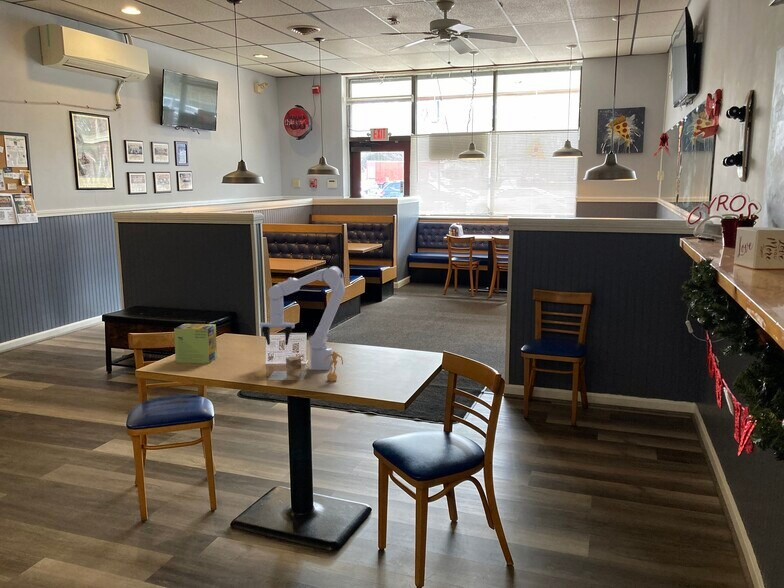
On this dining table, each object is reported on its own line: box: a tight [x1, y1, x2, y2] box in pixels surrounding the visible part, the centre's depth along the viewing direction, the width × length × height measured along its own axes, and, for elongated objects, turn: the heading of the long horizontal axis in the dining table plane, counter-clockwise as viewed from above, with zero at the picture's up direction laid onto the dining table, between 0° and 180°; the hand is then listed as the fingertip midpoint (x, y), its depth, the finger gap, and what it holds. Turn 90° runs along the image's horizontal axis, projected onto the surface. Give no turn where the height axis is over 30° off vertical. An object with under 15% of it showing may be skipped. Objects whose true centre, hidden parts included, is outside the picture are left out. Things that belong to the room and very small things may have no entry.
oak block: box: [286, 368, 302, 381], centre depth 246 cm, size 5×5×4 cm
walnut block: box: [285, 355, 302, 370], centre depth 245 cm, size 4×4×4 cm
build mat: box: [267, 370, 308, 381], centre depth 249 cm, size 14×12×1 cm
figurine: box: [324, 350, 344, 382], centre depth 243 cm, size 8×6×12 cm
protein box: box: [173, 323, 218, 365], centre depth 272 cm, size 10×15×16 cm
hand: (277, 344), depth 262 cm, fingers open, 7 cm apart
